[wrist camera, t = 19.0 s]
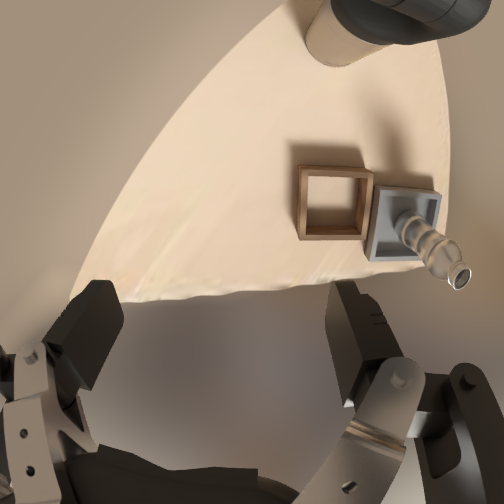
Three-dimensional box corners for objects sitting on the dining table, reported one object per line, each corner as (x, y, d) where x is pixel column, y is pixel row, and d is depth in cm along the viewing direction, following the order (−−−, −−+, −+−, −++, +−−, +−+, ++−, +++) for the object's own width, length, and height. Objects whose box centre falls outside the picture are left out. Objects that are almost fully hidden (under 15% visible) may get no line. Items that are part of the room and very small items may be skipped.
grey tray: (374, 185, 45) (380, 189, 42) (434, 190, 44) (442, 195, 42) (364, 254, 51) (369, 261, 49) (421, 253, 51) (427, 260, 48)
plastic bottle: (387, 236, 49) (438, 298, 31) (396, 204, 46) (457, 255, 28) (412, 240, 49) (465, 299, 31) (422, 209, 46) (484, 260, 28)
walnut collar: (298, 164, 44) (301, 169, 40) (365, 168, 43) (374, 172, 40) (296, 230, 49) (299, 240, 46) (358, 230, 49) (365, 240, 46)
